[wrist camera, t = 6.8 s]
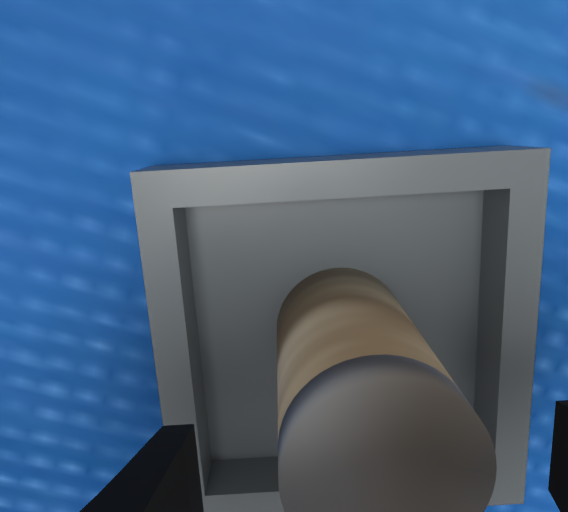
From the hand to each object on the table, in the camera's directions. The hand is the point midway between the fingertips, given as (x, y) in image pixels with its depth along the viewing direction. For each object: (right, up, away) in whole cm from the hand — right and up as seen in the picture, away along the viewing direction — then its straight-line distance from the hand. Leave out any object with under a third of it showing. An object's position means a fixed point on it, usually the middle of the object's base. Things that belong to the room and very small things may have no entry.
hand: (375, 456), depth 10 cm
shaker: (0, +2, +6) cm, 6 cm away
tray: (0, +2, +7) cm, 7 cm away
